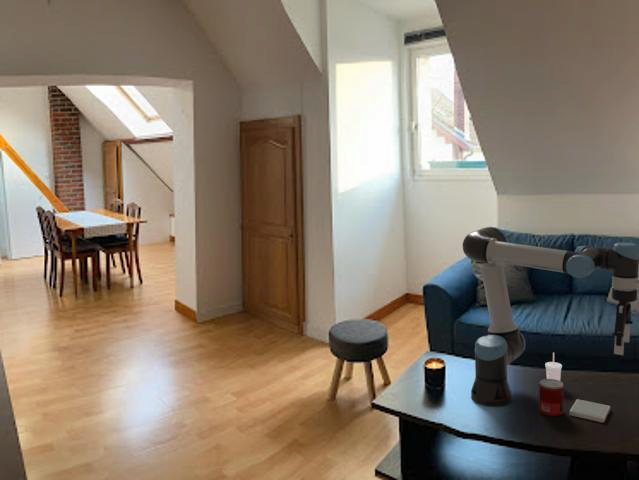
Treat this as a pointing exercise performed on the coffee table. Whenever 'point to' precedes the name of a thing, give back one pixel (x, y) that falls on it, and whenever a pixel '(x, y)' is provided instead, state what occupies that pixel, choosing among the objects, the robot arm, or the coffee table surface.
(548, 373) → the beverage cup
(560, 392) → the canned food
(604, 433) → the coffee table surface
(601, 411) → the tray
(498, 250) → the robot arm
